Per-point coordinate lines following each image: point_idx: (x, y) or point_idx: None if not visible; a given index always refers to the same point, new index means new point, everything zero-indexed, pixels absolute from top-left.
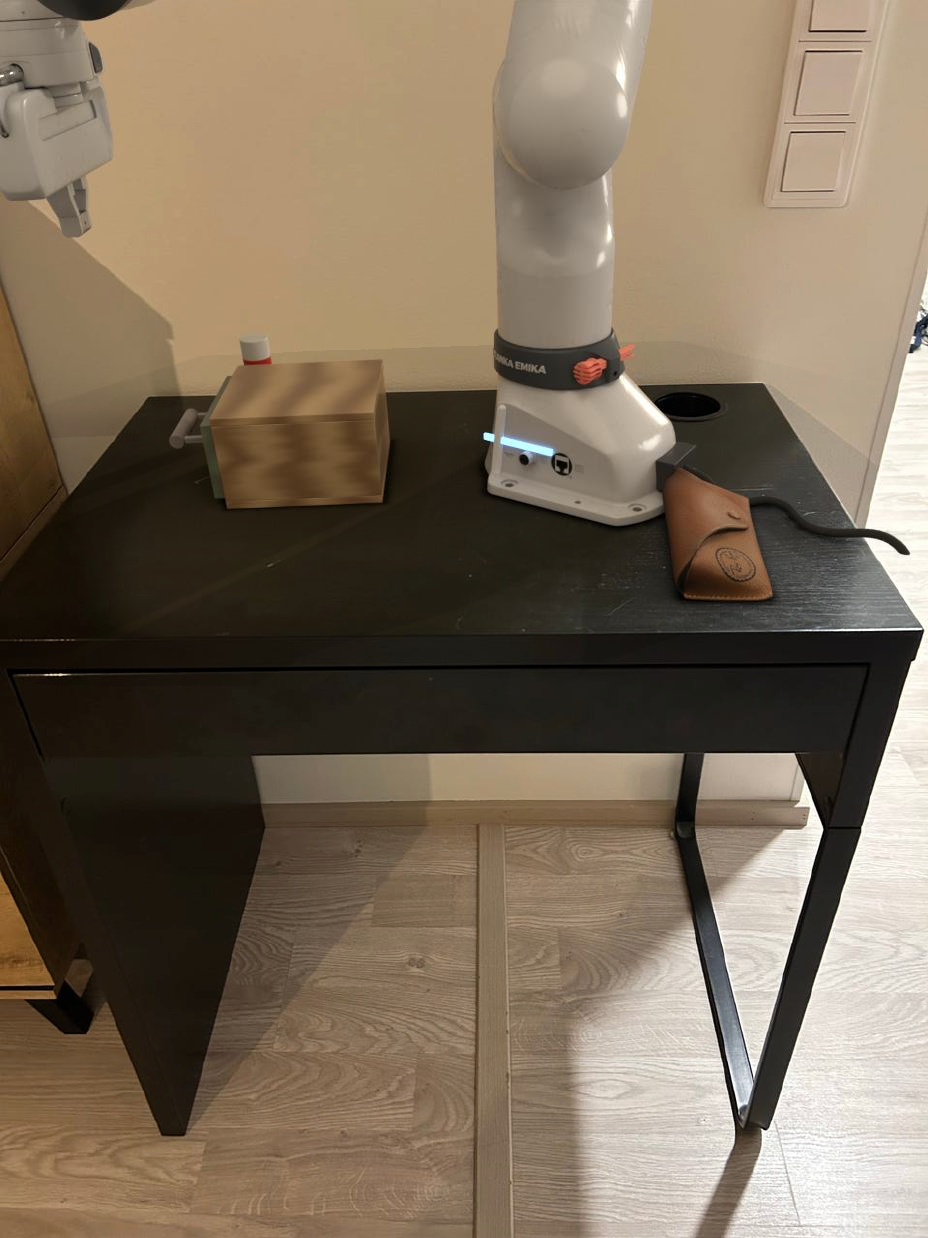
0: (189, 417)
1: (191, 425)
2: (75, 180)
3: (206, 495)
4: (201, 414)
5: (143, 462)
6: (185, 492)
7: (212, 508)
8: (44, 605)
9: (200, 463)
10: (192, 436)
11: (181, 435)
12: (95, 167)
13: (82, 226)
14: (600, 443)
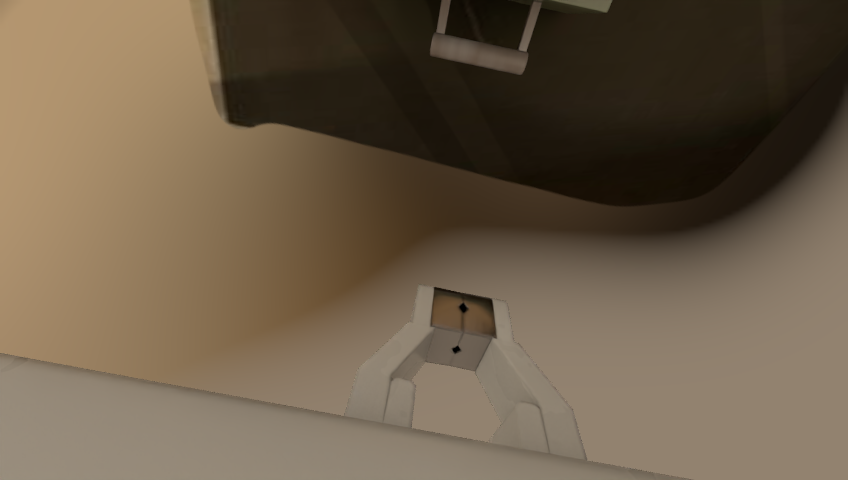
0: (464, 45)
1: (479, 42)
2: (572, 459)
3: None
4: (444, 26)
5: (411, 116)
6: None
7: (567, 20)
8: (674, 180)
9: None
10: (525, 38)
11: (523, 55)
12: (276, 411)
13: (494, 310)
14: None
